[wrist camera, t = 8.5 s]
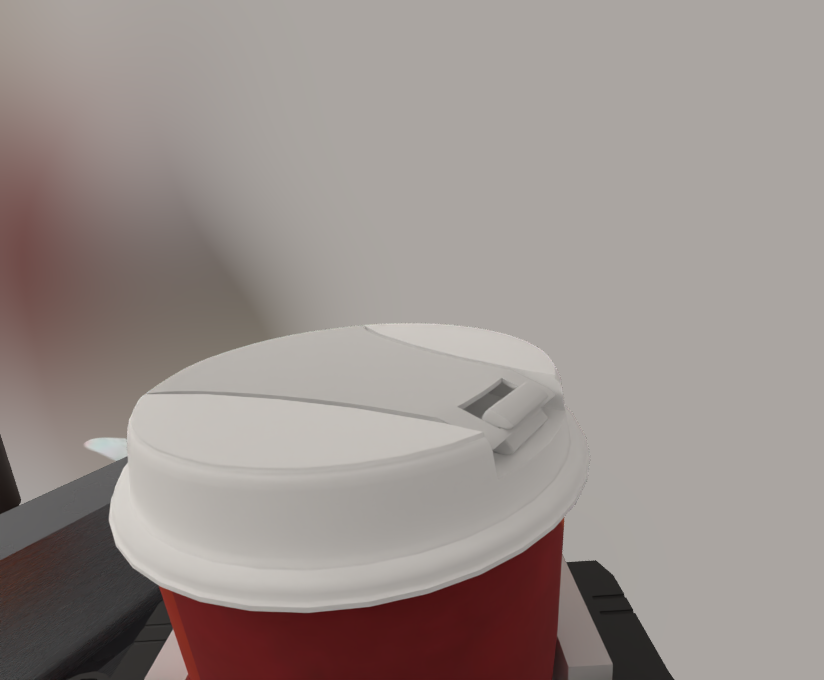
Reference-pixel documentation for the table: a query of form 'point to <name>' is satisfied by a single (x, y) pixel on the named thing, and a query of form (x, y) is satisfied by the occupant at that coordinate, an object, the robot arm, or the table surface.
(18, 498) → the bottle
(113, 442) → the table surface
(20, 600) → the panel
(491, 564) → the paper cup
